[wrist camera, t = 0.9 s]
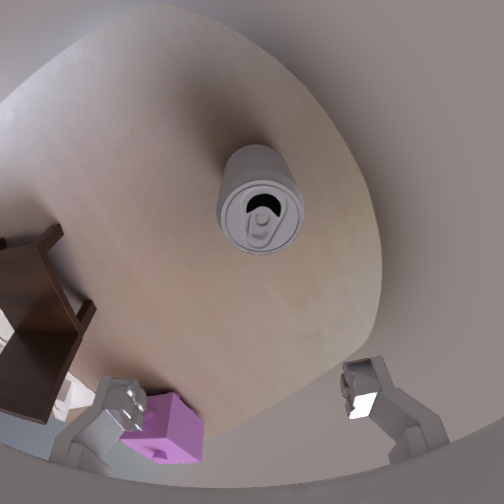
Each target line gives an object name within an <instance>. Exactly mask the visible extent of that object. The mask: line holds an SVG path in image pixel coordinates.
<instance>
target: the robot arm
mask: <svg viewBox="0 0 504 504" xmlns="http://www.w3.org/2000/svg"><path fill="white" fill-rule="evenodd" d="M342 369H343V372H344V373H343V374H342V375H341V379H340V383H341V392H342V396H343V397H344V398H345V399H347V400H346V404H345V407H346V411H347V415H348V419H354V418H359V417H364V416H369V417H370V418H371V419H372V420H373V421H374V422H375V423H376V424H377V425H378V426H379V427H380V428H382V430H384V431H385V432H386V433H387V434H388V435H389V436H390V437H391V438H392V439H393V440H394V441H395V442H396V445H395V446H394V447H393V449H392V450H391V451H390V453H389V454H388V457H389V461H390V465H386V466H383V467H380V468H376V469H372V470H368V471H364V472H360V473H355V474H351V475H346V476H341V477H336V478H331V479H326V480H319V481H313V482H306V483H298V484H290V485H281V486H270V487H269V486H268V487H252V488H195V487H179V486H167V485H158V484H149V483H142V482H135V481H128V480H123V479H118V478H112V477H109V474H110V466H109V465H108V464H106V463H105V462H103V461H102V460H101V459H102V458H103V457H104V456H105V455H106V453H107V452H108V451H109V450H110V448H111V447H112V446H113V445H114V443H115V442H116V441H117V440H118V439H119V437H120V436H121V435H122V434H123V432H124V430H128V431H142V428H143V423H144V417H143V415H142V413H143V412H144V411H145V410H146V408H147V396H146V392H145V391H144V389H142V388H141V387H139V382H138V380H137V379H136V378H120V377H105V376H103V377H102V378H101V380H100V383H99V386H98V389H97V392H96V395H95V398H94V401H93V404H92V407H88V408H87V409H86V410H85V411H84V412H83V413H82V414H80V415H79V416H78V417H77V418H76V419H75V420H74V421H73V422H72V423H71V424H70V425H68V426H67V427H66V428H65V429H64V430H63V431H62V432H61V433H60V434H59V435H57V436H56V438H55V441H54V444H53V448H52V451H51V454H50V458H49V461H47V460H44V459H41V458H38V457H36V456H33V455H30V454H27V453H25V452H22V451H20V450H17V449H15V448H12V447H10V446H8V445H5V444H3V443H1V442H0V504H504V417H502V418H501V419H499V420H497V421H495V422H493V423H492V424H490V425H488V426H486V427H484V428H482V429H480V430H478V431H476V432H474V433H472V434H469V435H467V436H465V437H463V438H461V439H458V440H456V441H454V442H451V443H450V441H449V439H448V436H447V434H446V431H445V429H444V426H443V423H442V421H441V418H440V416H438V415H437V414H435V413H434V412H432V411H431V410H430V409H428V408H427V407H425V406H424V405H423V404H421V403H420V402H418V401H417V400H415V399H414V398H413V397H411V396H410V395H408V394H407V393H406V392H404V391H403V390H401V389H400V388H395V387H394V384H393V382H392V379H391V377H390V374H389V372H388V369H387V367H386V364H385V362H384V359H383V357H382V356H376V357H371V358H365V359H360V360H355V361H350V362H345V363H344V364H343V367H342Z"/></svg>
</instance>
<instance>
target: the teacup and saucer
mask: <svg viewBox="0 0 504 504" xmlns="http://www.w3.org/2000/svg"><path fill="white" fill-rule="evenodd" d="M6 344H7V342H6V341H4V340H3V339H2V338H0V354H1V352H2V350H3V349H4V347H5V345H6Z"/></svg>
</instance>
